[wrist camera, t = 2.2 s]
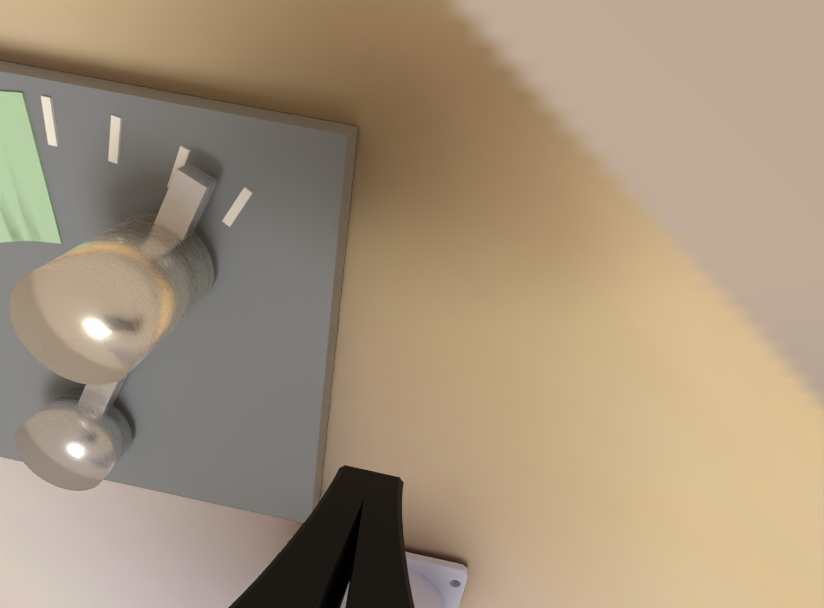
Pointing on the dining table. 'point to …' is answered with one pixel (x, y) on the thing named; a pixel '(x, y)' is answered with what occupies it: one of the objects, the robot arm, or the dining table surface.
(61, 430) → the lever
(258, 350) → the dial board
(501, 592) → the dining table surface
